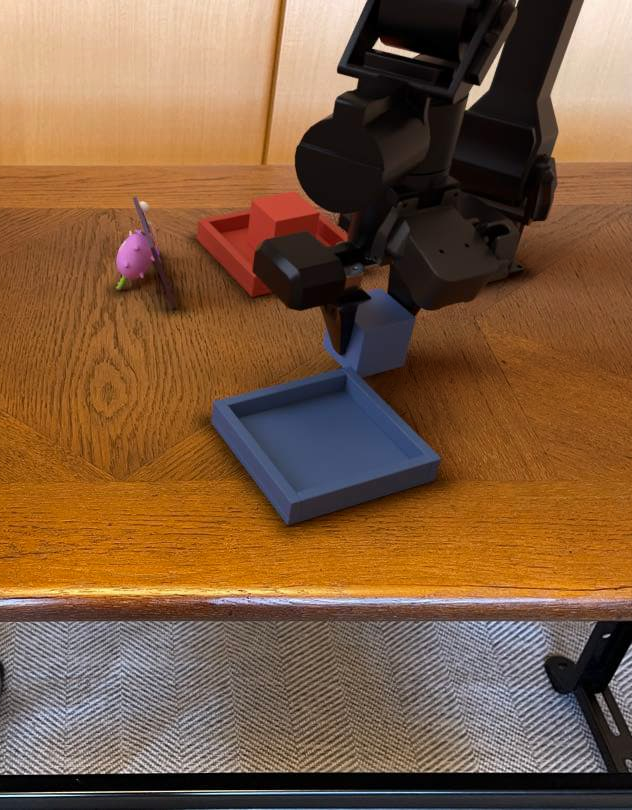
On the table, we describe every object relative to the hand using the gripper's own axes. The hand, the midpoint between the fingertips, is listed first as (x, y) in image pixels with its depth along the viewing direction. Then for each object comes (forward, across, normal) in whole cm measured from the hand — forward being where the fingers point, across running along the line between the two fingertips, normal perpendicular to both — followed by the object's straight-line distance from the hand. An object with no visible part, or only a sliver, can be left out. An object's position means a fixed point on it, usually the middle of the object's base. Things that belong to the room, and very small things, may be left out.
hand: (364, 345), depth 72 cm
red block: (+2, +3, +18) cm, 18 cm away
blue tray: (+2, -8, -7) cm, 11 cm away
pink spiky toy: (+3, -11, +18) cm, 21 cm away
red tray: (+2, +3, +18) cm, 18 cm away
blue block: (+1, 0, 0) cm, 1 cm away
